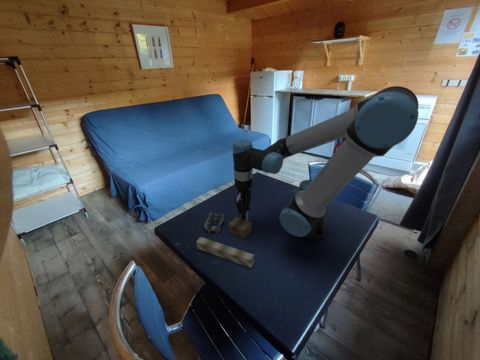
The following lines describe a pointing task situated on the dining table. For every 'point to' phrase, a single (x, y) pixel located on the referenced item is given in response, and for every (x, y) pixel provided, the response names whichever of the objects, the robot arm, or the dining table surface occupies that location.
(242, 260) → the board
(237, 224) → the block
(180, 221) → the dining table surface
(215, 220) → the egg carton
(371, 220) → the dining table surface
